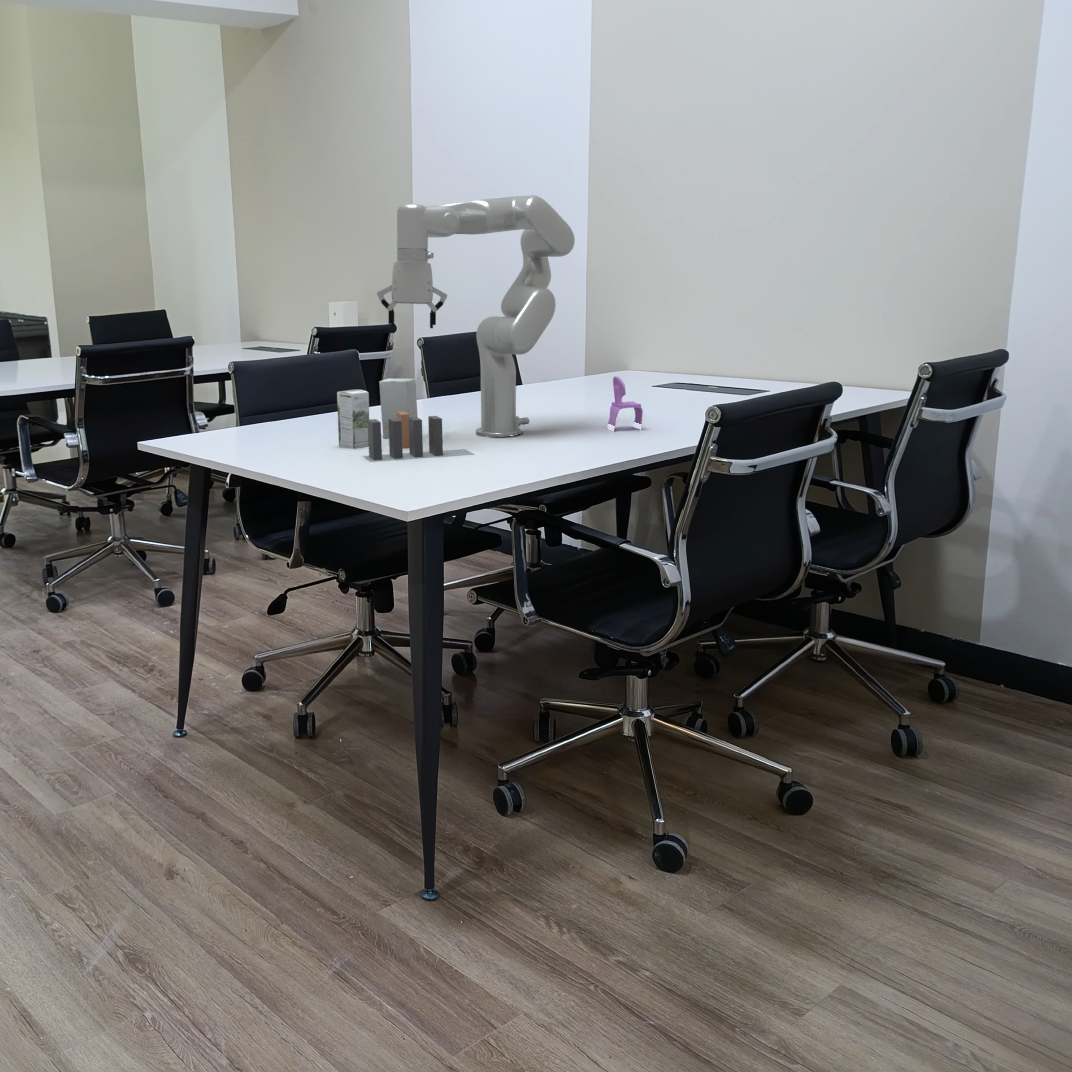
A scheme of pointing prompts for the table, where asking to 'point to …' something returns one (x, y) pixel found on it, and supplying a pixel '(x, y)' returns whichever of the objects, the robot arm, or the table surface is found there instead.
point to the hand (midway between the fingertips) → (412, 327)
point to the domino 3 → (404, 428)
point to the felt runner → (425, 455)
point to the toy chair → (622, 403)
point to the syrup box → (353, 418)
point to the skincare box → (397, 400)
